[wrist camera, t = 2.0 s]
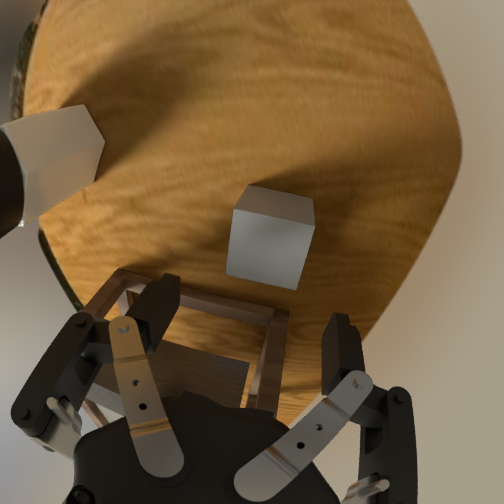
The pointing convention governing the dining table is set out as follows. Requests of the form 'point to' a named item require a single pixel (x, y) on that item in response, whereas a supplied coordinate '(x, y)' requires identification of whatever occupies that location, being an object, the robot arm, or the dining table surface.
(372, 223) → the dining table surface
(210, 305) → the frame
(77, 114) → the jar
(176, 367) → the trapdoor
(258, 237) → the gray cube
